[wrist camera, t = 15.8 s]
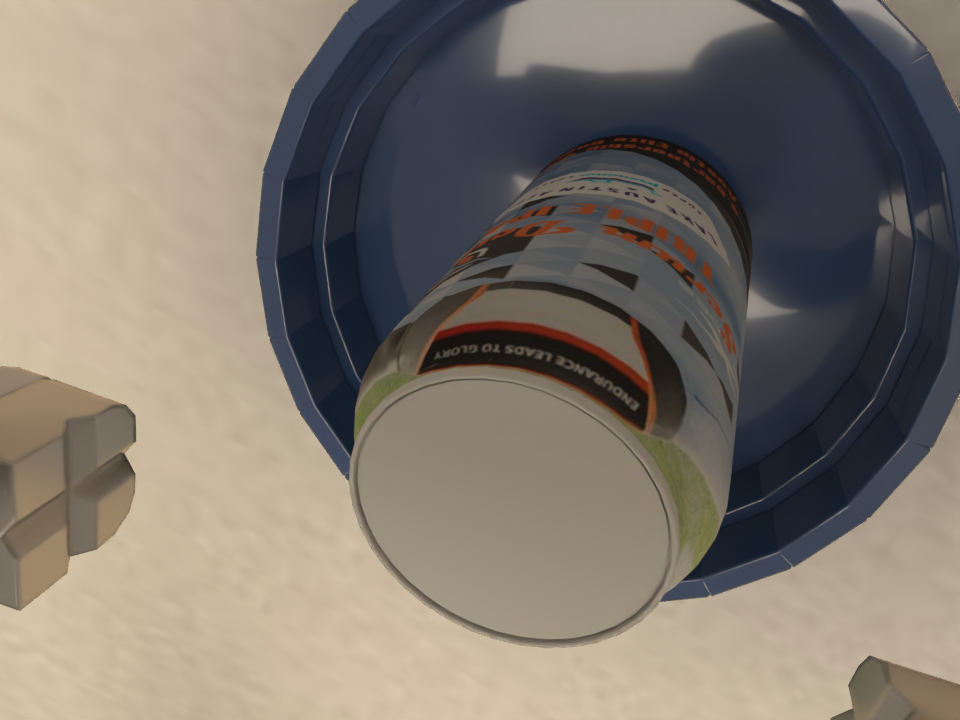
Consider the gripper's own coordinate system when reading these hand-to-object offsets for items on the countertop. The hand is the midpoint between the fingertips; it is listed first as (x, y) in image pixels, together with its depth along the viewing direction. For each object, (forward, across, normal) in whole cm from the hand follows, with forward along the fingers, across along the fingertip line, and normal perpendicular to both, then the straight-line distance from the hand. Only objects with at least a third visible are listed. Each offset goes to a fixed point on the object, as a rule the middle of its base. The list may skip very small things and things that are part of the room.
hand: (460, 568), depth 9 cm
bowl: (+15, 0, 0) cm, 15 cm away
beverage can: (+14, 0, 0) cm, 14 cm away
